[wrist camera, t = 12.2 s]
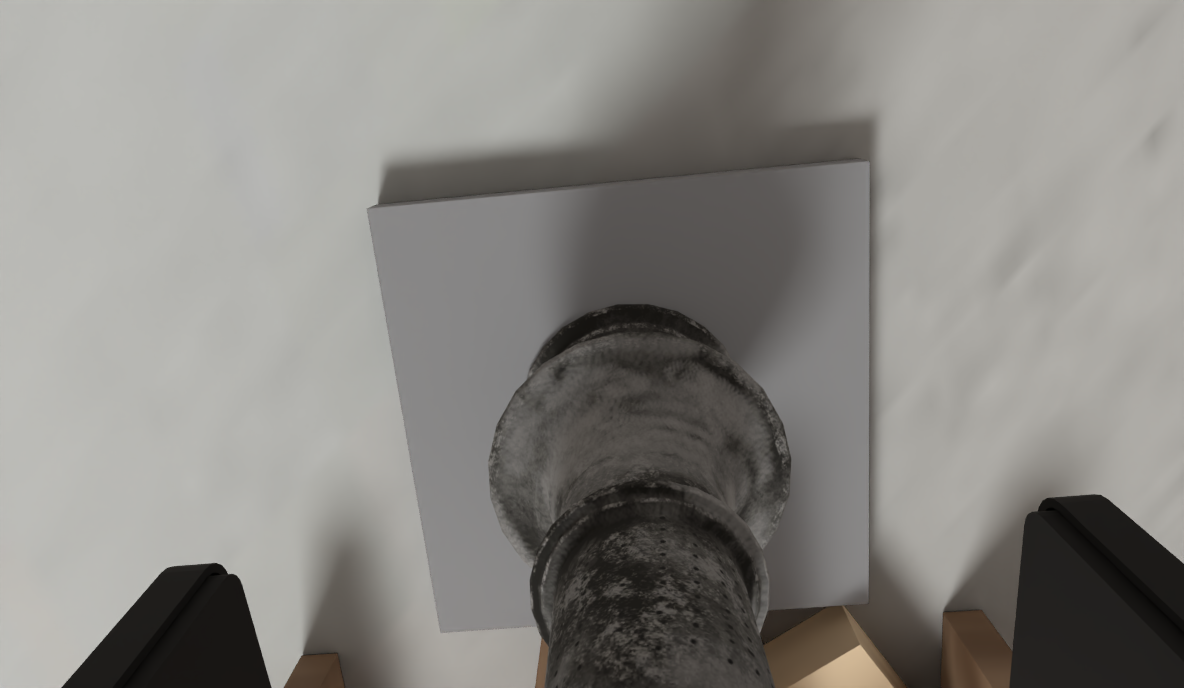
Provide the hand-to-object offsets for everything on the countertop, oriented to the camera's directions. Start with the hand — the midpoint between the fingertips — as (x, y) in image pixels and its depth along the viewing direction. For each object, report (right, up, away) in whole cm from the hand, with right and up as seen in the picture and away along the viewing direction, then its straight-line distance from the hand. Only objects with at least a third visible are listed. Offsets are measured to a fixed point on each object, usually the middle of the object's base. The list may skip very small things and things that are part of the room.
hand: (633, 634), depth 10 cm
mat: (+1, +2, +10) cm, 10 cm away
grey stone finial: (0, +2, +9) cm, 10 cm away
